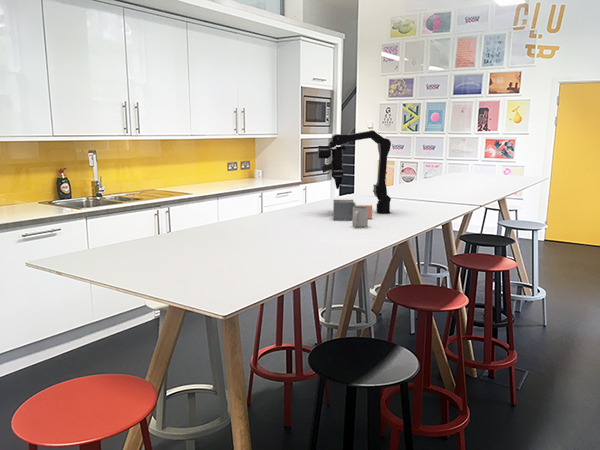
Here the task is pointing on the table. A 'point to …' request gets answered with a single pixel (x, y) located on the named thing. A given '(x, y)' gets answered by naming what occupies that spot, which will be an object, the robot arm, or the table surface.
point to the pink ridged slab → (368, 210)
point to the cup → (360, 216)
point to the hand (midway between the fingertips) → (337, 187)
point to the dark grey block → (343, 209)
